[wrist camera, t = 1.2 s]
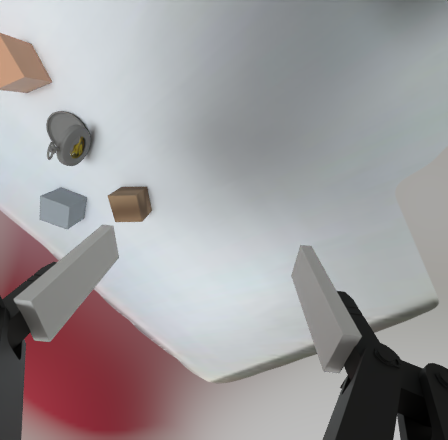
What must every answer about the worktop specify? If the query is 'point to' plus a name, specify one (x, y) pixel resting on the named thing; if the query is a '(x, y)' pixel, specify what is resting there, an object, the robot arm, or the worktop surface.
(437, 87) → the worktop surface
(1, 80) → the terracotta cube
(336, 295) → the robot arm
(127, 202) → the walnut cube
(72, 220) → the slate cube
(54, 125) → the pocket watch
